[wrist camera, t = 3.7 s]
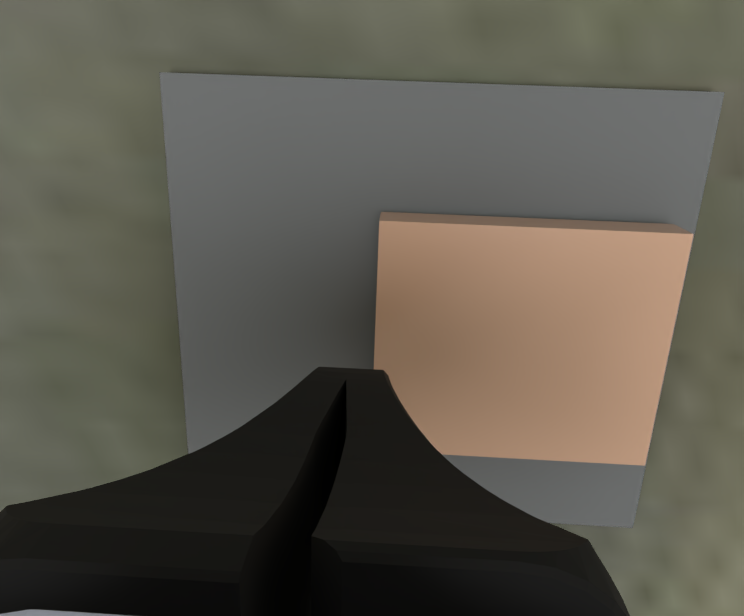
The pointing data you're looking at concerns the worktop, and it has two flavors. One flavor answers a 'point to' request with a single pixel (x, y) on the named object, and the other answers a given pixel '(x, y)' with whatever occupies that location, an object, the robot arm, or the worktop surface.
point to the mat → (394, 194)
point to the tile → (528, 331)
